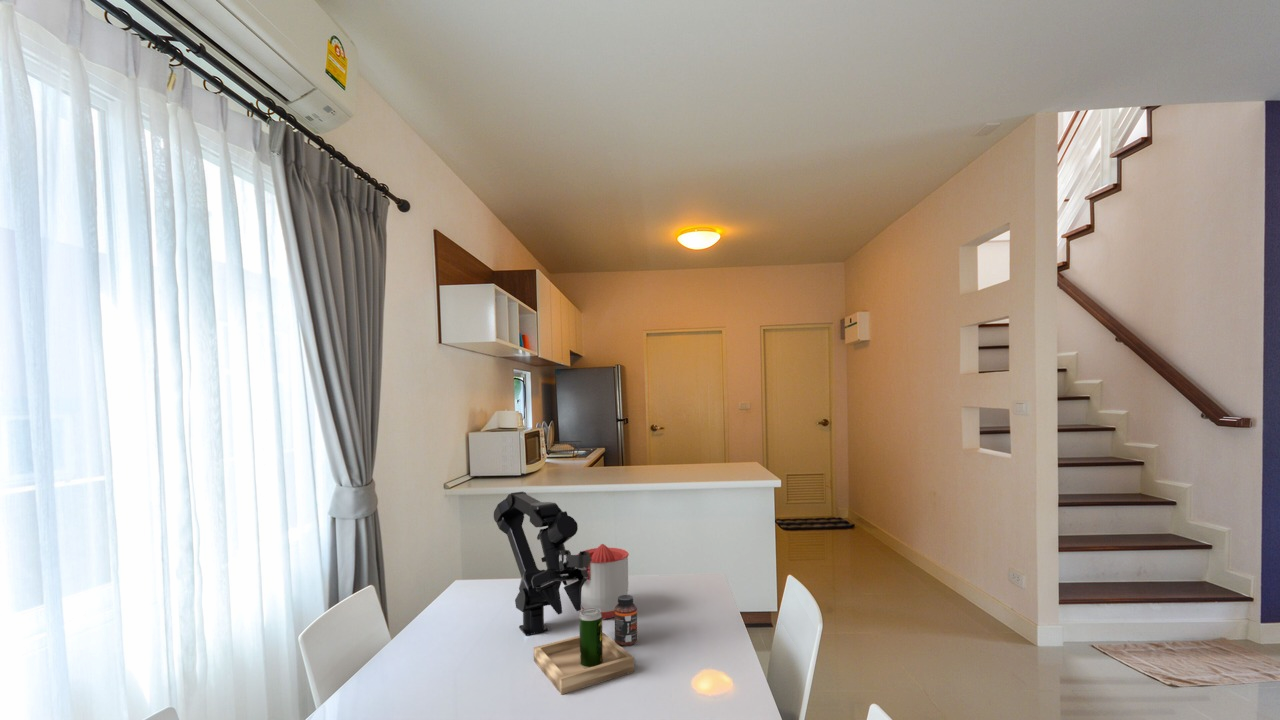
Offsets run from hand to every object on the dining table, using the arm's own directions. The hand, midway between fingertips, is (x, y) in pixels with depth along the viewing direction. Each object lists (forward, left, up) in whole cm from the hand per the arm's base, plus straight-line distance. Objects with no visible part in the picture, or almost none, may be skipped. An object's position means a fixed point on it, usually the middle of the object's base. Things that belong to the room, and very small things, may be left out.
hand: (569, 612), depth 135 cm
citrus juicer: (-20, +18, -11) cm, 30 cm away
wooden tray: (+7, 0, -10) cm, 12 cm away
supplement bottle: (+1, +15, -11) cm, 19 cm away
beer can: (+9, +1, -9) cm, 13 cm away
